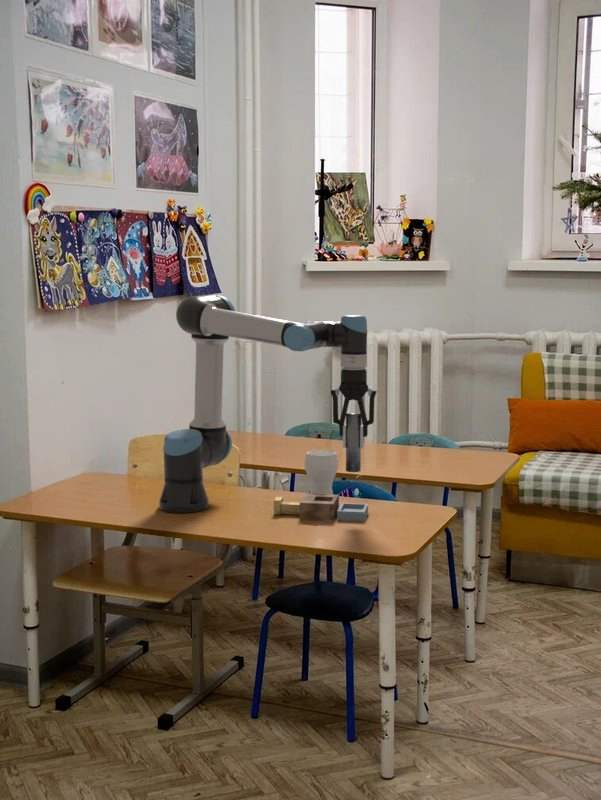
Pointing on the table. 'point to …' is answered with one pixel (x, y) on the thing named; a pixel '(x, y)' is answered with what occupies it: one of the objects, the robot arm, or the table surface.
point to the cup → (321, 470)
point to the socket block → (319, 507)
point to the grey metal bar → (353, 442)
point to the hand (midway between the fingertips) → (353, 447)
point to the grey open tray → (352, 512)
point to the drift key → (286, 507)
